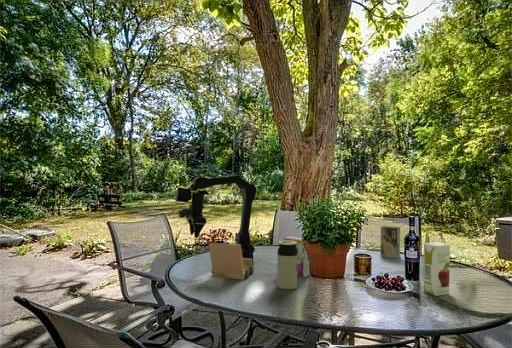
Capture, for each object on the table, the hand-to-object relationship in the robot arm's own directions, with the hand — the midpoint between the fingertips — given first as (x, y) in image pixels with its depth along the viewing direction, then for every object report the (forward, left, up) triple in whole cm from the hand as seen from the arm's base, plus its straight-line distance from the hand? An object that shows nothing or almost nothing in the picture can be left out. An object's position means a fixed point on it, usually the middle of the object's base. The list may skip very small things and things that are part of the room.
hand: (193, 236), depth 179 cm
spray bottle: (-44, +20, -15) cm, 51 cm away
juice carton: (-89, +54, -15) cm, 105 cm away
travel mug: (-35, +36, -15) cm, 53 cm away
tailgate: (-14, +20, -13) cm, 27 cm away
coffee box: (-106, -5, -15) cm, 108 cm away
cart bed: (-17, +14, -15) cm, 26 cm away
